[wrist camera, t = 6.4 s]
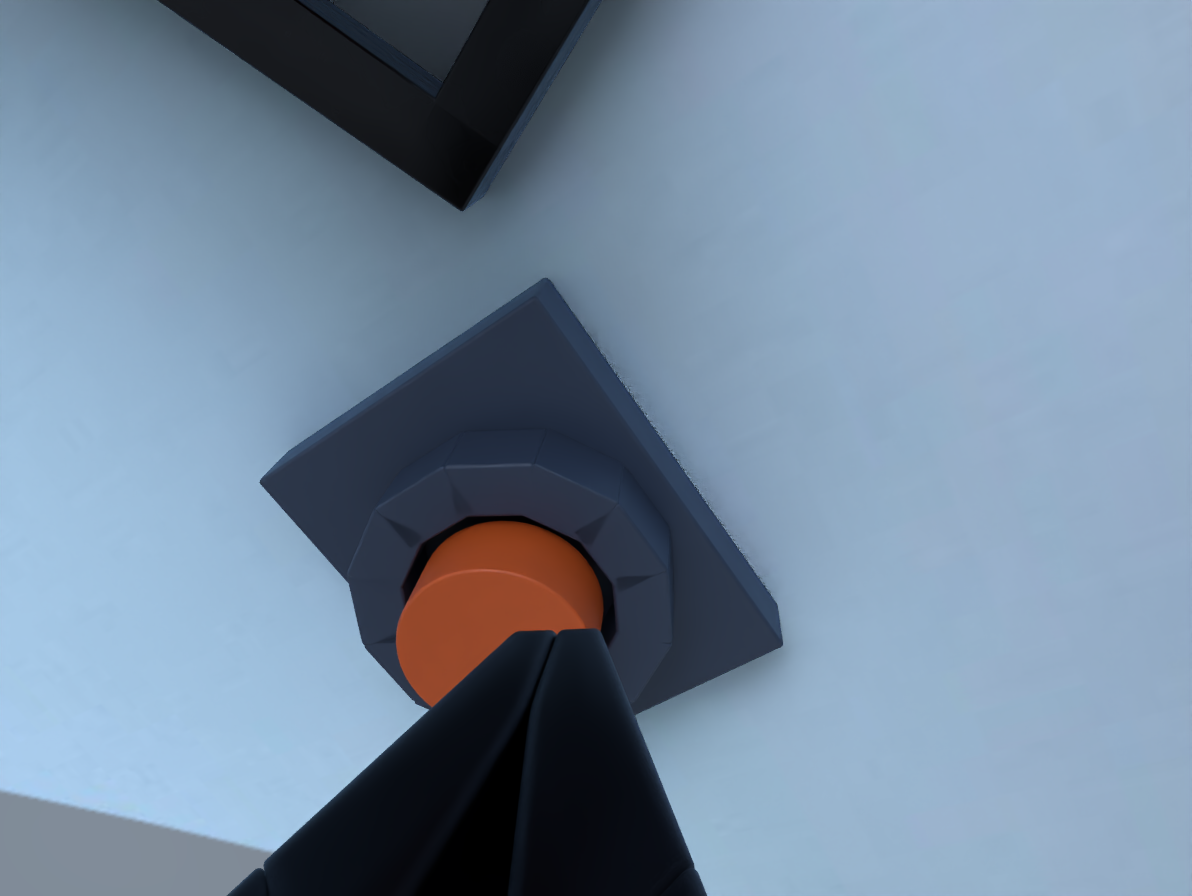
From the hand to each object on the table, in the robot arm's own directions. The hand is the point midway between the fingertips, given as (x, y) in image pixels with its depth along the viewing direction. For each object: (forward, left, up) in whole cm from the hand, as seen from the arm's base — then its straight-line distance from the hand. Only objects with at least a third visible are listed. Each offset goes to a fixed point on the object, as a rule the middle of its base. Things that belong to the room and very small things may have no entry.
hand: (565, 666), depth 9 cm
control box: (-3, +5, -12) cm, 13 cm away
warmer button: (-3, +5, -9) cm, 11 cm away
